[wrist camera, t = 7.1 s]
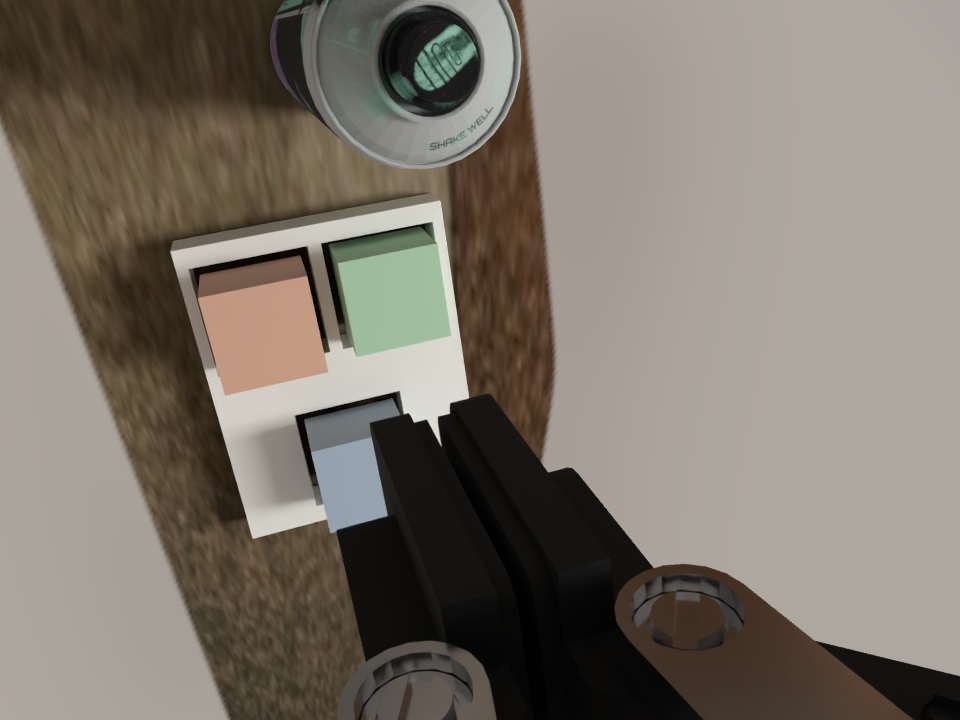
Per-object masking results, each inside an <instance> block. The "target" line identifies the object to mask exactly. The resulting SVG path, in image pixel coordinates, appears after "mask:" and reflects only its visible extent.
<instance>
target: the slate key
mask: <svg viewBox="0 0 960 720" xmlns="http://www.w3.org/2000/svg"><path fill="white" fill-rule="evenodd" d="M399 415H400V413H399V411H398V409H397V407H396V405H395V403H394V400H393V398H391V399H387V400H383V401H379V402H375V403H370V404H366V405H362V406H358V407H354V408H349V409H345V410H341V411H337V412H333V413H328V414H324V415H320V416H316V417H312V418H308V419H304V421H305V426H306V430H307V435H308V440H309V445H310V450H311V454H312V458H313V462H314V467H315V471H316V475H317V479H318V483H319V487H320V492H321V496H322V500H323V504H324V508H325V512H326V517H327V521H328V525H329V529H330V533H333V532H337V531H336V530H337V529H341V528H345V527H348V526H352V525H356V524H360V523H363V522H367V521H371V520H374V519H378V518H382V517H386V516H388V515H387V510H386V505H385V501H384V496H383V491H382V486H381V481H380V476H379V471H378V466H377V461H376V456H375V451H374V447H373V442H372V437H371V431H370V422H374V421H378V420H382V419H386V418H390V417H394V416H399Z"/></svg>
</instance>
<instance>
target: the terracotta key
mask: <svg viewBox="0 0 960 720" xmlns="http://www.w3.org/2000/svg"><path fill="white" fill-rule="evenodd" d="M198 301H199V304H200V308H201V312H202V315H203V319H204V322H205V326H206V329H207V333H208V337H209V340H210V344H211V347H212V351H213V354H214V358H215V362H216V365H217V369H218V372H219V376H220V379H221V383H222V387H223V390H224V394H225V396H226V395H230V394H235V393H239V392H244V391H248V390H252V389H257V388H261V387H266V386H270V385H274V384H279V383H283V382H288V381H292V380H296V379H301V378H305V377H310V376H314V375H318V374H323V373H327V372H328V368H327V364H326V359H325V355H324V350H323V346H322V341H321V337H320V332H319V327H318V323H317V318H316V314H315V309H314V305H313V300H312V296H311V291H310V287H309V282H308V277H307V274H306V271H305V268H304V265H303V262H302V259H301V256H300V255H299V256H294V257H289V258H284V259H278V260H273V261H268V262H263V263H258V264H253V265H248V266H243V267H238V268H233V269H228V270H222V271H217V272H212V273H207V274H202V275H200V280H199V290H198Z"/></svg>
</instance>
